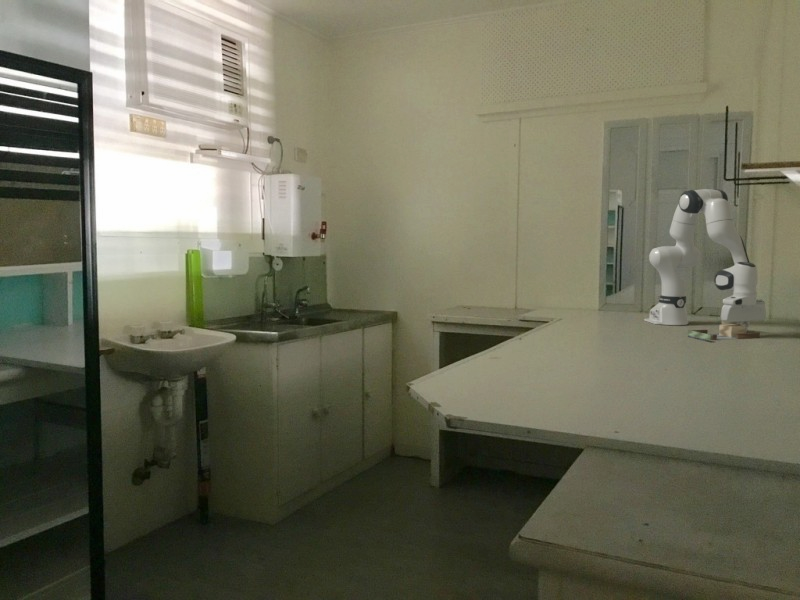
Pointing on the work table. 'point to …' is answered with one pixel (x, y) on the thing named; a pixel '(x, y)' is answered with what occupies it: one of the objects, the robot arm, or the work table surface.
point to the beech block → (731, 330)
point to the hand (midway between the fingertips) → (742, 331)
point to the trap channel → (704, 335)
